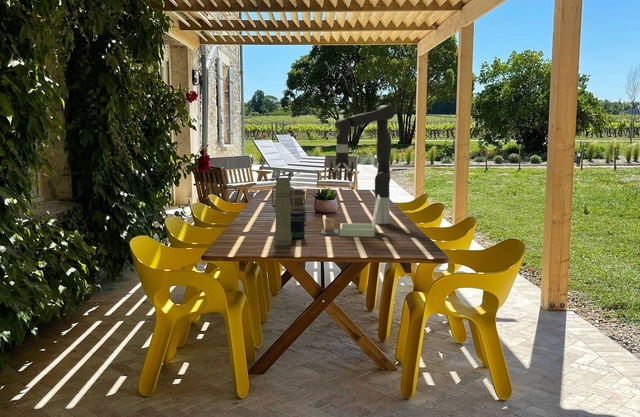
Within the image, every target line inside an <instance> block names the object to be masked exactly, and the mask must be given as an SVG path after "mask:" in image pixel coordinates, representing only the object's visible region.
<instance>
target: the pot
mask: <svg viewBox="0 0 640 417" xmlns="http://www.w3.org/2000/svg"><path fill="white" fill-rule="evenodd" d="M335 221H336V220H335V218H325V219H324V229H325V232H334V229H335Z"/></svg>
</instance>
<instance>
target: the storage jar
mask: <svg viewBox="0 0 640 417" xmlns="http://www.w3.org/2000/svg"><path fill="white" fill-rule="evenodd" d="M305 214H306V211H292V212H291V234H292V240H291V241H303V240H305V234H306V233H305V232H306V231H305V223H306V222H305ZM304 222H305V223H304Z"/></svg>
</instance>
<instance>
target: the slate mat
mask: <svg viewBox="0 0 640 417" xmlns="http://www.w3.org/2000/svg"><path fill="white" fill-rule="evenodd" d="M339 233H340V228H334V232H325V228H321V230H320V236H339Z"/></svg>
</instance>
